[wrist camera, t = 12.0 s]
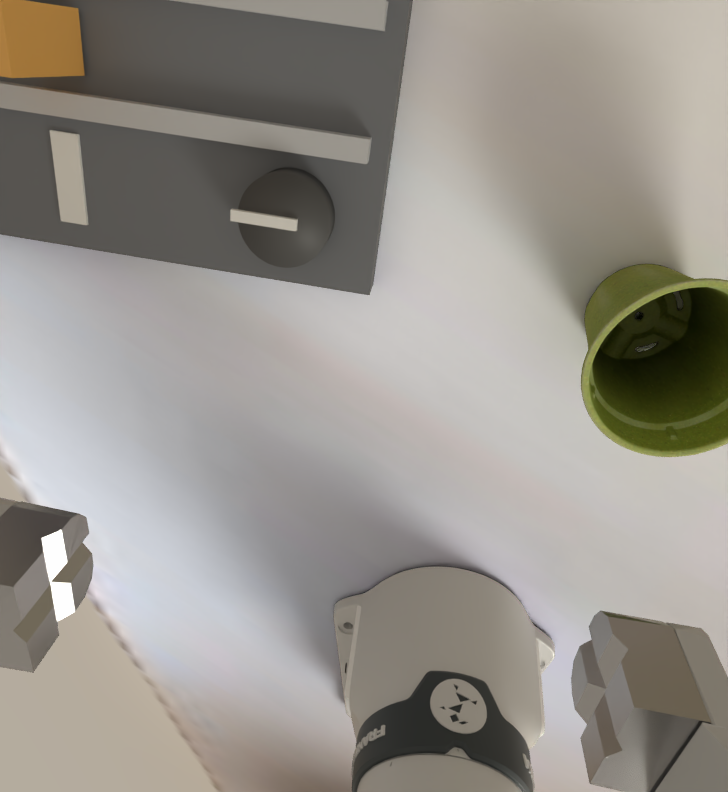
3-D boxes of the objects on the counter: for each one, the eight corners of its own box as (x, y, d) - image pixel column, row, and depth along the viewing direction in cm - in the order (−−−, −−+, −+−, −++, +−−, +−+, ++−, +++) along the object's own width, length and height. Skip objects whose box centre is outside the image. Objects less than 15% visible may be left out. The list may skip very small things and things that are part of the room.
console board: (373, 284, 37) (364, 308, 34) (-54, 214, 39) (-108, 230, 35) (439, -189, 26) (437, -231, 23) (-159, -265, 28) (-253, -316, 24)
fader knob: (84, 78, 32) (9, 80, 26) (30, 69, 32) (-56, 70, 26) (77, 5, 30) (-4, -7, 25) (20, -3, 30) (-74, -17, 25)
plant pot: (533, 274, 36) (556, 330, 28) (700, 204, 33) (775, 246, 25) (582, 400, 39) (613, 479, 32) (736, 347, 36) (811, 421, 29)
